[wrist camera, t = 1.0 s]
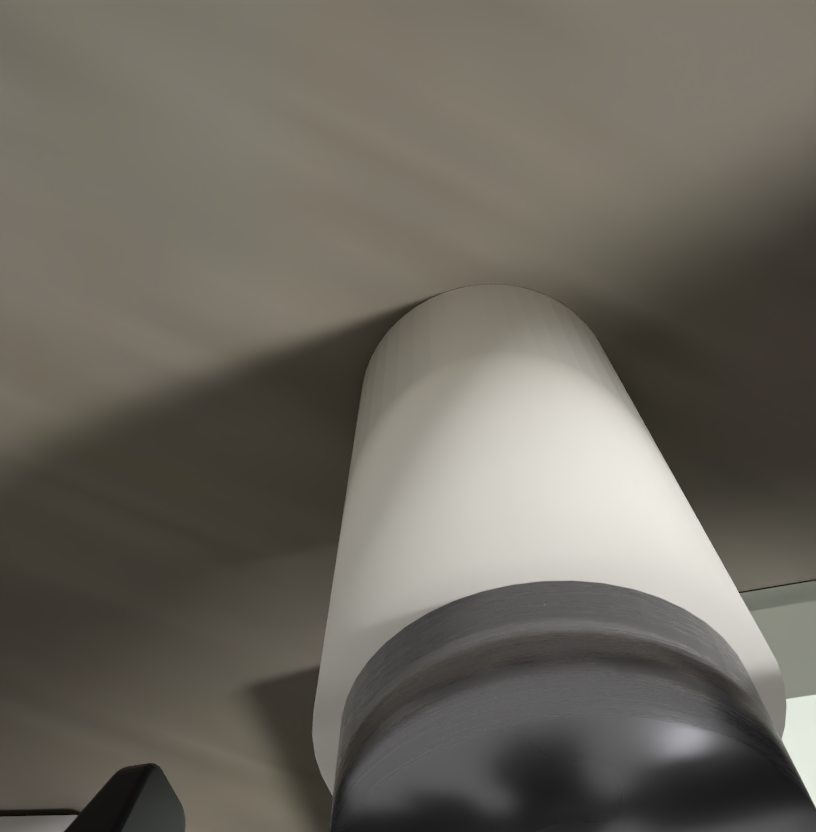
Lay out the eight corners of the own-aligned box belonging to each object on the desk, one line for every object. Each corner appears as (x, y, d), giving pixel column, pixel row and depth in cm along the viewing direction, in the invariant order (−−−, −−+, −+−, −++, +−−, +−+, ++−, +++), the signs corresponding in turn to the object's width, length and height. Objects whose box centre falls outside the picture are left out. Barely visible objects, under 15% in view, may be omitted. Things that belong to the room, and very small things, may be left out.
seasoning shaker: (596, 257, 14) (883, 640, 5) (624, 484, 16) (856, 1009, 8) (332, 316, 14) (209, 746, 6) (394, 527, 17) (369, 1059, 8)
